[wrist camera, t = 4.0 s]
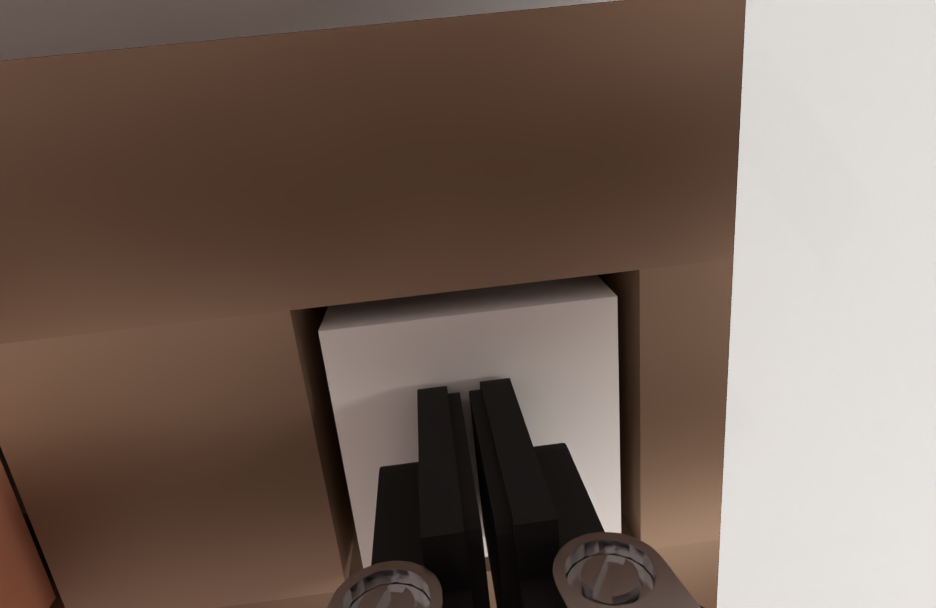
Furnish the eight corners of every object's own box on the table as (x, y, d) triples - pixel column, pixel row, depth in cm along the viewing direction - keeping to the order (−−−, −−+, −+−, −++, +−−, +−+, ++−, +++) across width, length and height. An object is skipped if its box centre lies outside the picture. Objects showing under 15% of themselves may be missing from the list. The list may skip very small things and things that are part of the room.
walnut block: (-264, 112, 14) (-728, 131, 8) (620, 25, 15) (747, -12, 9) (-35, 602, 19) (-231, 828, 13) (626, 515, 19) (712, 690, 14)
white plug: (343, 265, 14) (318, 331, 10) (564, 240, 14) (617, 296, 11) (376, 456, 16) (364, 573, 12) (572, 431, 16) (620, 538, 12)
